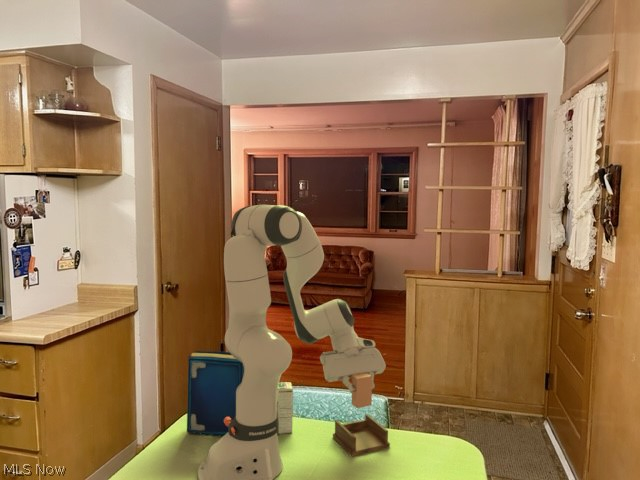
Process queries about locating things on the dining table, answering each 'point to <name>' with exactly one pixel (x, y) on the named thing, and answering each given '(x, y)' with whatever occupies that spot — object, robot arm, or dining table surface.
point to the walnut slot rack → (361, 436)
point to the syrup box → (285, 406)
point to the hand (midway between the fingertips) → (362, 389)
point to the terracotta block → (362, 390)
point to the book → (212, 391)
